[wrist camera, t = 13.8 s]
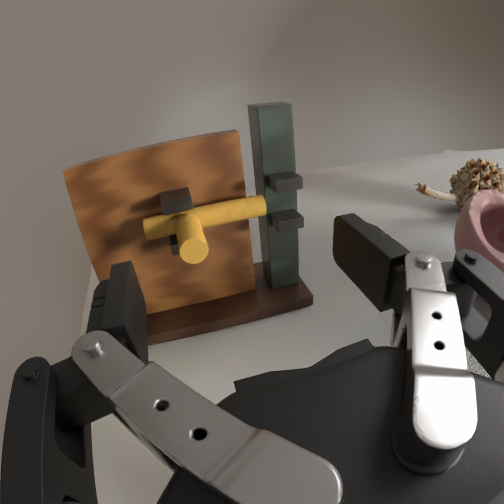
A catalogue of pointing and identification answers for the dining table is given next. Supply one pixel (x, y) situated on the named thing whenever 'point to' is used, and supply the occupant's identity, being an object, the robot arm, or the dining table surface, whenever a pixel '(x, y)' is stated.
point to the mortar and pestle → (482, 226)
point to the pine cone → (469, 182)
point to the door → (218, 237)
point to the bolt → (201, 224)
